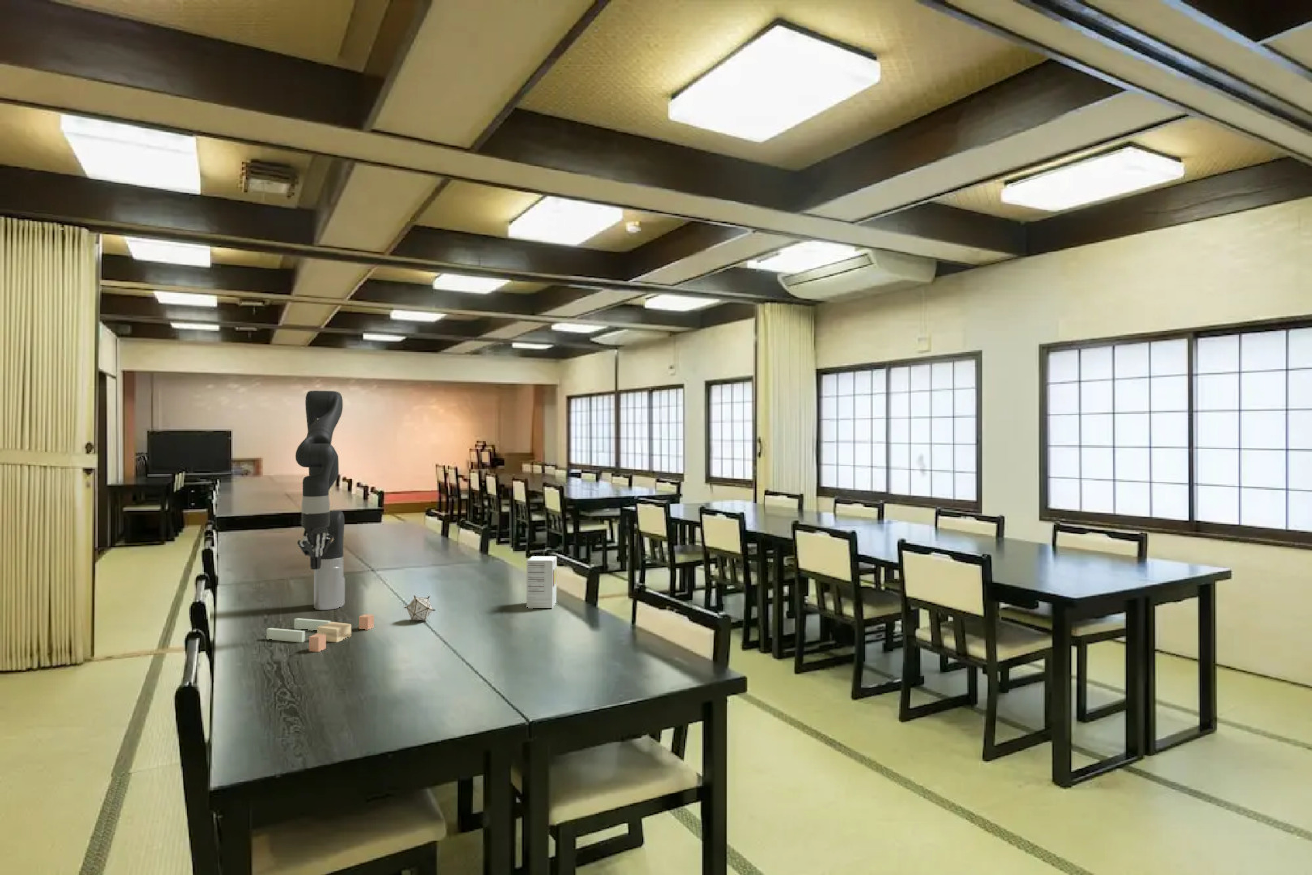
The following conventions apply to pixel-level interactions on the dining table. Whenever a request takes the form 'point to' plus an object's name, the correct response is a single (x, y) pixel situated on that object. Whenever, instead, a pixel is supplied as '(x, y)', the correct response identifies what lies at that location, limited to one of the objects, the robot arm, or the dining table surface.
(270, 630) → the white blocks
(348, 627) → the maple block
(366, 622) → the gate posts
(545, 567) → the supplement box
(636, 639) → the dining table surface
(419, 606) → the game die
